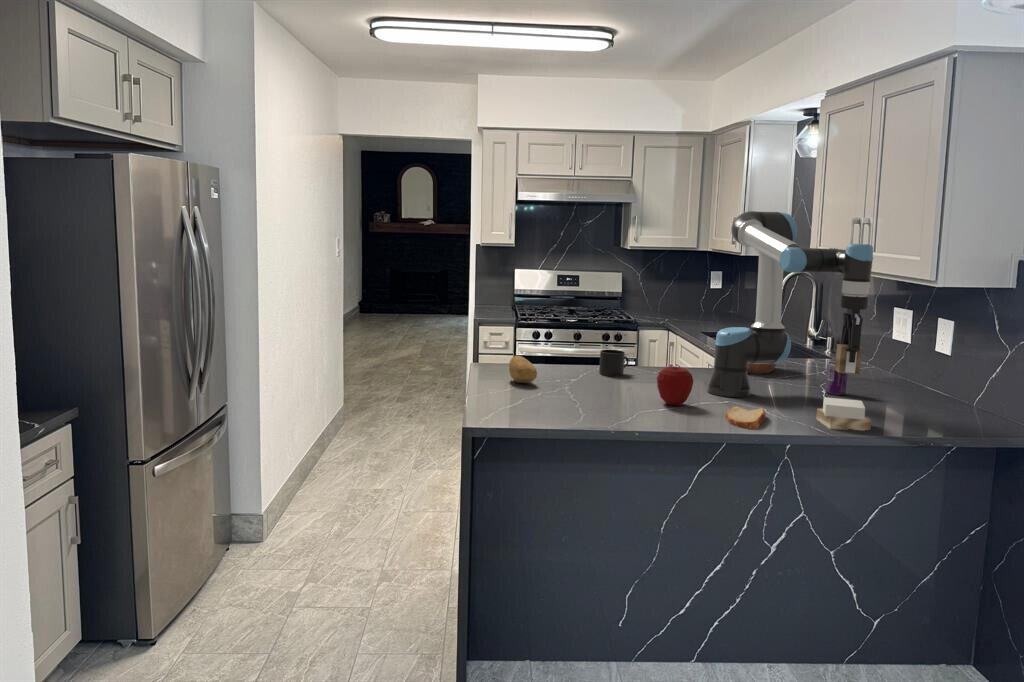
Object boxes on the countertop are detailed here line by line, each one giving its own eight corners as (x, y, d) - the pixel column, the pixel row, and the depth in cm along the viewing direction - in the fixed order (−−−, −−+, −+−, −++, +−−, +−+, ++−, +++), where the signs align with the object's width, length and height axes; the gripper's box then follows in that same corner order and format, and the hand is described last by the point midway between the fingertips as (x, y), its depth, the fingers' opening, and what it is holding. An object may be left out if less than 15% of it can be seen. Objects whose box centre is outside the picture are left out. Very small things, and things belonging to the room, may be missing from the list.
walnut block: (838, 372, 242) (841, 346, 241) (834, 369, 248) (837, 343, 247) (859, 374, 241) (862, 348, 240) (855, 370, 247) (857, 345, 246)
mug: (633, 376, 312) (634, 353, 311) (605, 376, 308) (607, 353, 307) (622, 371, 321) (623, 349, 320) (595, 372, 317) (596, 349, 316)
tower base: (829, 430, 241) (831, 417, 240) (816, 420, 253) (817, 408, 252) (869, 432, 241) (871, 419, 240) (854, 422, 252) (855, 410, 252)
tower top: (824, 415, 243) (825, 404, 242) (822, 408, 253) (823, 397, 252) (864, 419, 239) (865, 408, 239) (860, 411, 250) (861, 400, 249)
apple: (648, 401, 268) (650, 362, 266) (677, 399, 273) (680, 361, 271) (668, 409, 258) (671, 369, 255) (698, 407, 262) (701, 367, 260)
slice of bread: (746, 431, 236) (747, 419, 235) (706, 416, 252) (707, 405, 251) (791, 426, 244) (792, 414, 243) (749, 412, 260) (750, 401, 259)
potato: (516, 387, 282) (517, 361, 281) (504, 379, 297) (504, 354, 296) (539, 387, 285) (540, 361, 284) (526, 378, 300) (527, 353, 298)
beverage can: (847, 396, 289) (850, 363, 287) (826, 394, 290) (829, 362, 289) (843, 392, 296) (846, 360, 294) (823, 390, 297) (826, 359, 295)
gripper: (876, 298, 231) (868, 377, 234) (860, 293, 249) (852, 366, 253) (849, 297, 232) (841, 375, 236) (835, 292, 251) (827, 364, 254)
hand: (847, 370), depth 244 cm, fingers closed on walnut block, 6 cm apart
